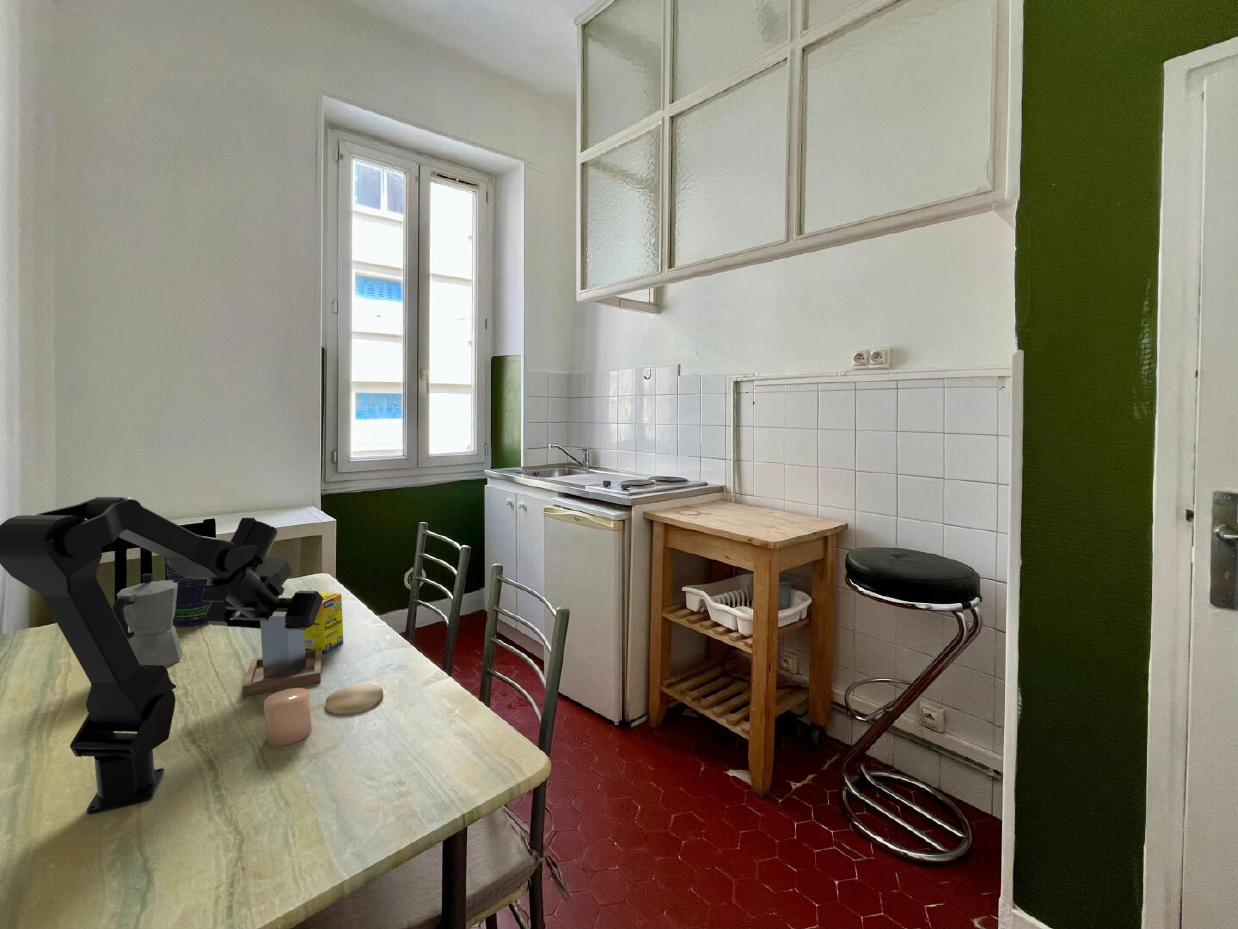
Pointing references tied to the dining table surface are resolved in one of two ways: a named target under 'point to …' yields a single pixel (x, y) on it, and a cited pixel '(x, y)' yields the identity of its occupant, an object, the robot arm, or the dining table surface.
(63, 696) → the dining table surface
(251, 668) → the walnut tray
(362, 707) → the cork coaster
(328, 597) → the supplement box
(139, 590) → the coffeepot
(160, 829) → the dining table surface
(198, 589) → the storage jar
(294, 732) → the pink rounded cylinder
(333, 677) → the dining table surface
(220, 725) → the dining table surface
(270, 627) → the tea tin
